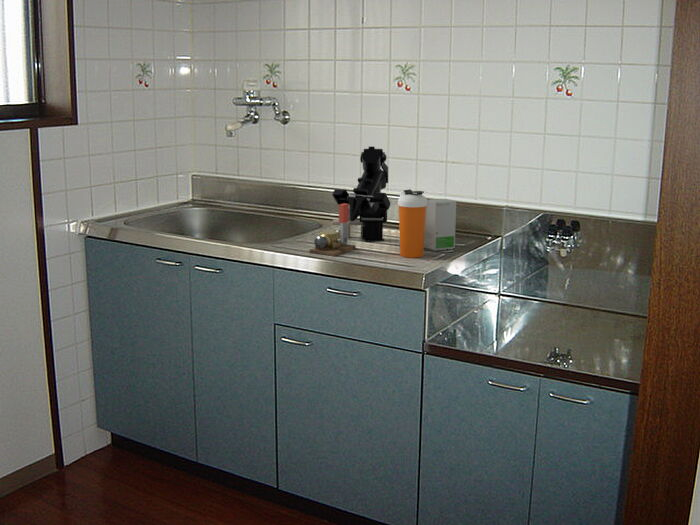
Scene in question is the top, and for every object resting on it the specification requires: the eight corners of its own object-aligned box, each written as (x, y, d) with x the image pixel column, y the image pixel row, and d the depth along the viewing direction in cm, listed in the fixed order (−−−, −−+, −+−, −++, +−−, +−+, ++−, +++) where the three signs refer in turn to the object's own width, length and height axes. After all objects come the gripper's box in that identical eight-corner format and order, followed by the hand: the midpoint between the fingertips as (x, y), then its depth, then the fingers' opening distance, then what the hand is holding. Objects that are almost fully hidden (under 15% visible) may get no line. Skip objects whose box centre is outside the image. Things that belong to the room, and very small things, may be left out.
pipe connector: (362, 240, 281) (362, 210, 278) (332, 240, 281) (332, 210, 278) (362, 234, 290) (362, 205, 288) (333, 234, 290) (333, 205, 288)
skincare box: (433, 251, 264) (435, 202, 261) (422, 247, 270) (423, 199, 266) (456, 248, 268) (457, 200, 264) (444, 245, 274) (445, 197, 270)
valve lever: (343, 244, 264) (343, 203, 261) (348, 244, 263) (348, 203, 260) (338, 245, 261) (338, 204, 258) (343, 246, 260) (343, 205, 258)
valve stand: (331, 245, 272) (331, 227, 271) (355, 248, 268) (355, 230, 267) (309, 253, 261) (309, 234, 260) (334, 256, 257) (334, 237, 256)
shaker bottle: (417, 259, 252) (419, 193, 248) (391, 256, 257) (392, 191, 252) (431, 254, 260) (432, 190, 255) (405, 251, 264) (406, 187, 260)
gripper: (402, 198, 273) (386, 238, 266) (352, 194, 282) (335, 232, 275) (391, 177, 264) (374, 217, 257) (340, 173, 273) (322, 212, 266)
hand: (351, 220), depth 264 cm, fingers closed
